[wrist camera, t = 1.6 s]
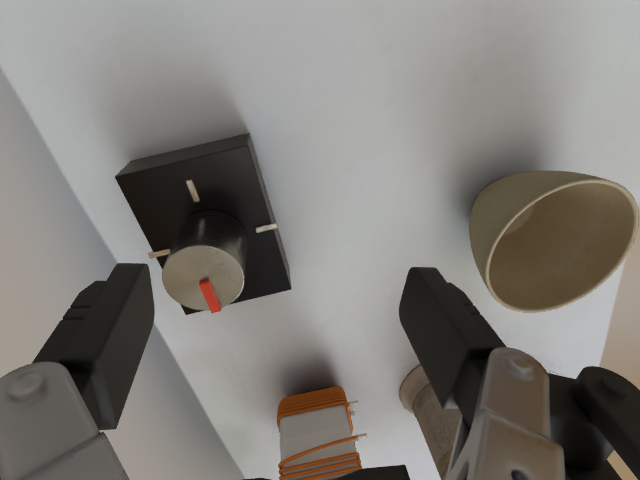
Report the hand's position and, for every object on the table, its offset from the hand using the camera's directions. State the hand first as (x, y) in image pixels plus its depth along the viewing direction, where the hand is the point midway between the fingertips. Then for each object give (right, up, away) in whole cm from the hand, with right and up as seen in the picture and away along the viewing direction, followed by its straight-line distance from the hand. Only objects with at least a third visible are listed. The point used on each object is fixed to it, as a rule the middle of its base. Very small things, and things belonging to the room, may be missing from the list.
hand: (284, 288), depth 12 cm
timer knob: (-6, +2, +13) cm, 14 cm away
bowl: (+16, +4, +18) cm, 24 cm away
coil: (+1, -16, +27) cm, 31 cm away
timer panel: (-6, +3, +15) cm, 17 cm away
